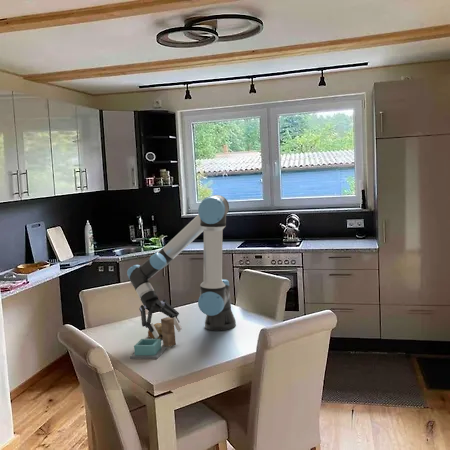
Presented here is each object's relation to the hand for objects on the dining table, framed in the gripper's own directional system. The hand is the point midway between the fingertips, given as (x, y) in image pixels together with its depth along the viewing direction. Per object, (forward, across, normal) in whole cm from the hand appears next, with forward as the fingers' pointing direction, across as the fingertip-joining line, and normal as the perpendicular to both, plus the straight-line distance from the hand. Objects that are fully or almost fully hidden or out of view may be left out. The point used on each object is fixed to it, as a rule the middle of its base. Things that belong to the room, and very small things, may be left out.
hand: (169, 333), depth 231 cm
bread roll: (-7, -5, -16) cm, 18 cm away
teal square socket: (+4, +12, -4) cm, 13 cm away
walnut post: (+3, -1, -5) cm, 6 cm away
